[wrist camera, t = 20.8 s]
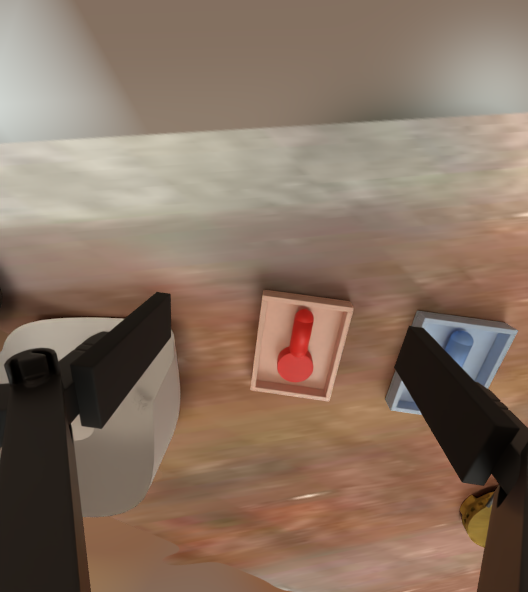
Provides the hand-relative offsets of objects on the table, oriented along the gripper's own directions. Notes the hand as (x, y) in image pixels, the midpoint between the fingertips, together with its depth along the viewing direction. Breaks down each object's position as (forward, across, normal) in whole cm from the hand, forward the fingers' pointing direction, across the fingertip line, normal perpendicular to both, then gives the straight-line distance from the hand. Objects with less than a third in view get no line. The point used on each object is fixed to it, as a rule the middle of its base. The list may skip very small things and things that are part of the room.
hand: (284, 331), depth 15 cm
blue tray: (+17, +21, -11) cm, 29 cm away
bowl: (+16, -20, -20) cm, 33 cm away
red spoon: (+16, +3, -10) cm, 19 cm away
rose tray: (+17, +3, -11) cm, 20 cm away
